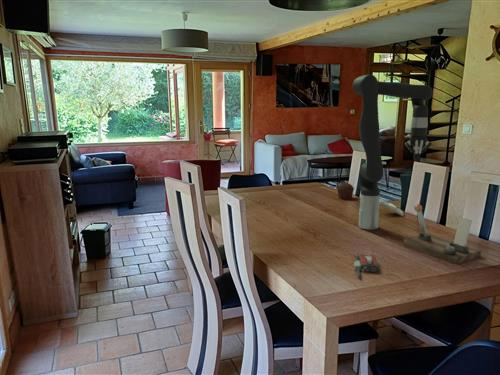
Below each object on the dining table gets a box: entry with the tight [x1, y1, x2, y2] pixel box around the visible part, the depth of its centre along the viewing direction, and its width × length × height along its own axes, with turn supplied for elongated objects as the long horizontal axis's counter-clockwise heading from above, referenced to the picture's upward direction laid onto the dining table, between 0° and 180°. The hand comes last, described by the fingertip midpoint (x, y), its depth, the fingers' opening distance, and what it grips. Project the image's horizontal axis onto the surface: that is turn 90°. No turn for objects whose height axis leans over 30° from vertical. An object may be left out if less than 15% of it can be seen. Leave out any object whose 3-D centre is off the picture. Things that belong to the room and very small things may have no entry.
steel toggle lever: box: [413, 203, 429, 237], centre depth 171 cm, size 3×3×17 cm
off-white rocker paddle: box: [453, 217, 473, 249], centre depth 160 cm, size 1×4×12 cm, turn 28°
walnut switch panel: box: [403, 232, 482, 265], centre depth 167 cm, size 16×25×5 cm, turn 28°
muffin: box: [336, 182, 355, 200], centre depth 266 cm, size 12×11×10 cm
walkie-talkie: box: [353, 253, 380, 279], centre depth 150 cm, size 9×4×20 cm
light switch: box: [379, 198, 405, 217], centre depth 226 cm, size 8×6×14 cm
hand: (416, 160), depth 201 cm, fingers closed
